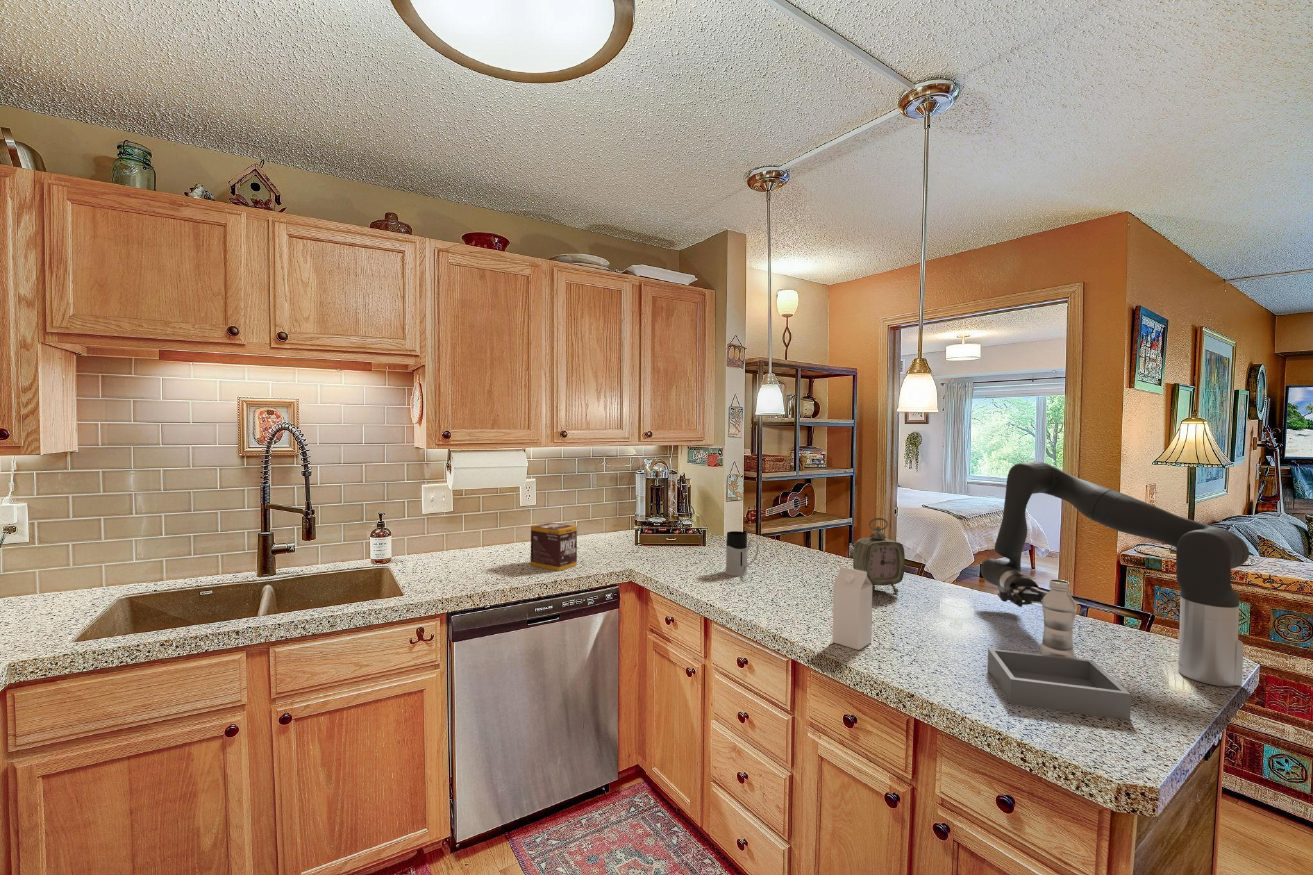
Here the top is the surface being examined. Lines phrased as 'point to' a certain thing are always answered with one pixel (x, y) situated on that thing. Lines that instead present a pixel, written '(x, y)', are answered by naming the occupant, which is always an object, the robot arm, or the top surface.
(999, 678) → the bin
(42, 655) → the top surface
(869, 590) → the milk carton
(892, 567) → the tabletop clock
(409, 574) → the top surface
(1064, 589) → the silver bottle
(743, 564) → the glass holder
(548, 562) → the supplement box
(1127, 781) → the top surface
